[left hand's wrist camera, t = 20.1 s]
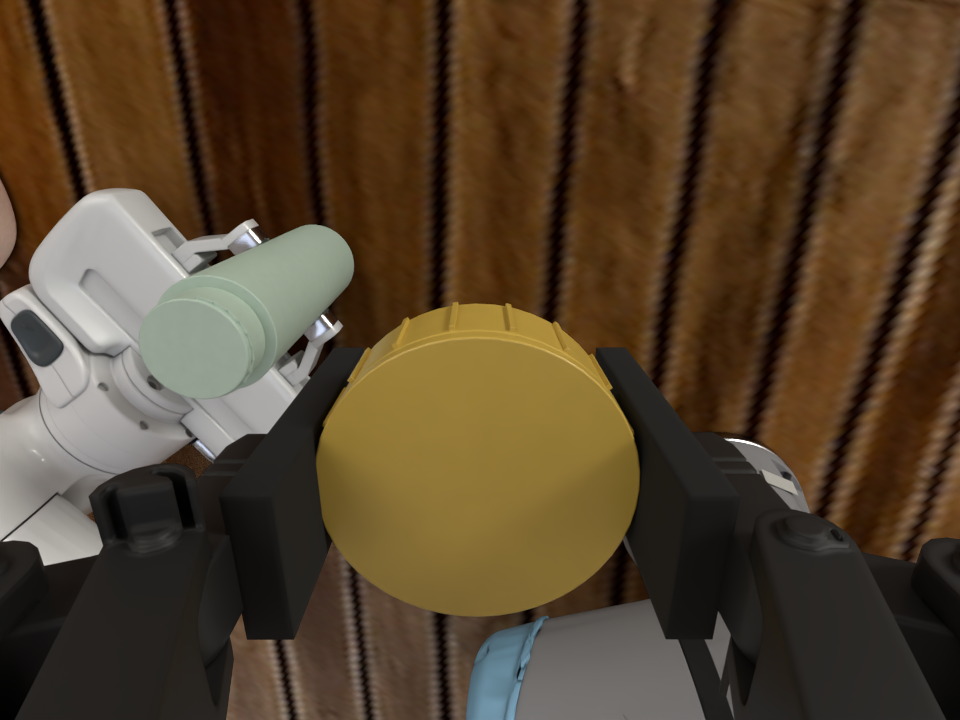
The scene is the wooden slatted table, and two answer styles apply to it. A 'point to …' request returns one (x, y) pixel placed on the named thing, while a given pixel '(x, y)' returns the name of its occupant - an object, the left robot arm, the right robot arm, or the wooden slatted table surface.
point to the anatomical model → (6, 226)
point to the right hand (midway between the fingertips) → (296, 275)
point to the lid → (477, 463)
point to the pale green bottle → (243, 312)
